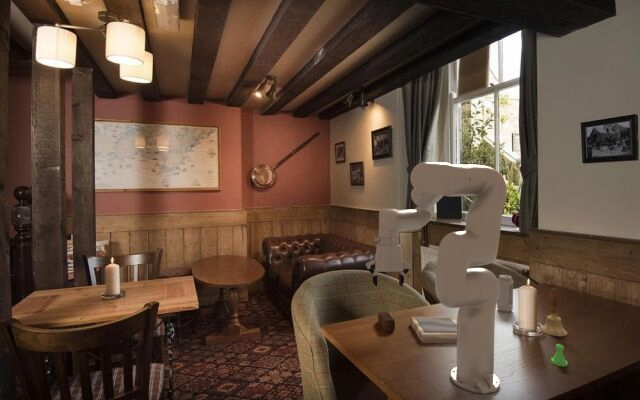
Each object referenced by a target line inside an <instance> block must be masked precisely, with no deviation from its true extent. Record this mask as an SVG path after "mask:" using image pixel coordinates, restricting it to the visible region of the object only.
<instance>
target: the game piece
mask: <svg viewBox="0 0 640 400" xmlns="http://www.w3.org/2000/svg"><path fill="white" fill-rule="evenodd" d="M555 349H556V353H555V354H554V356H553V357H551V359H550V361H551V363H552V364H553V365H556V366H557V367H564V368H565V367H568V365H569V363H568V361H567V360H566V359H565V356H564V353H563V351H564V349H565V346H564V345H563V344H561V343H556V344H555Z"/></svg>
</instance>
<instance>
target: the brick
mask: <svg viewBox="0 0 640 400" xmlns="http://www.w3.org/2000/svg"><path fill="white" fill-rule="evenodd" d="M377 322H378V324H379V325H380V327H381V329H382V331H383V332H384V333H394V332H395V328H396V327H395V325H396V321H395V319H394V318H393V316H392V315H391V314H390V313H389V312H387V311H379V312H378V314H377Z"/></svg>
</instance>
